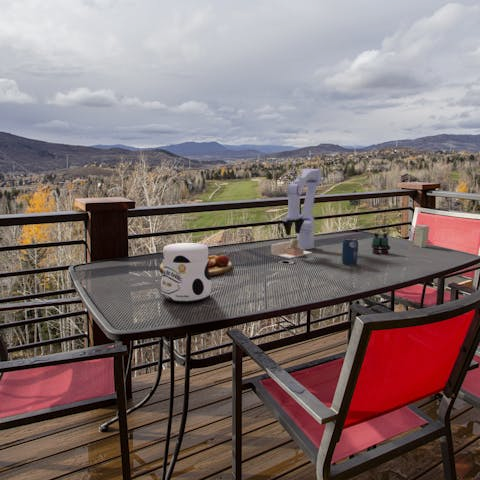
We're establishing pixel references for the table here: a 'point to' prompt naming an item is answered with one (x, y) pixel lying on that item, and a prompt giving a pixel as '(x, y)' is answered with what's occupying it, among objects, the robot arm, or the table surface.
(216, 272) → the wooden plate with food
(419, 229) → the skincare box
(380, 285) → the table surface
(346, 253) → the soda can
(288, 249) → the cup bracket
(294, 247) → the beige cylinder
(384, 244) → the binoculars
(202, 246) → the milk container
